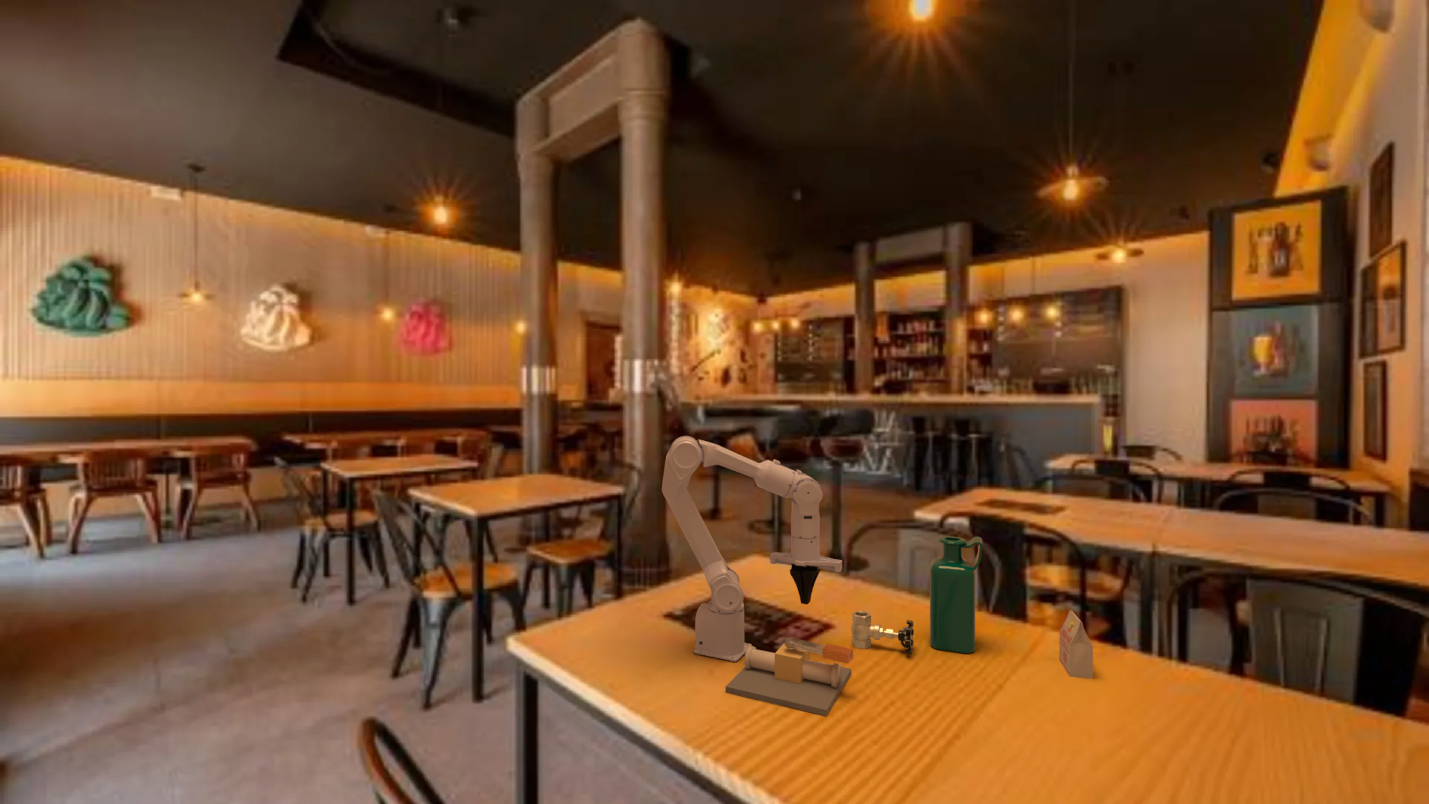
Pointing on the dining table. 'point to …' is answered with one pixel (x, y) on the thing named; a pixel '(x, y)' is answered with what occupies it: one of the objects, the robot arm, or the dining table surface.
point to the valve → (878, 632)
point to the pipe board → (789, 680)
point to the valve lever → (821, 649)
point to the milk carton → (1075, 648)
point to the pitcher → (953, 596)
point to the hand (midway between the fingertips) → (805, 602)
